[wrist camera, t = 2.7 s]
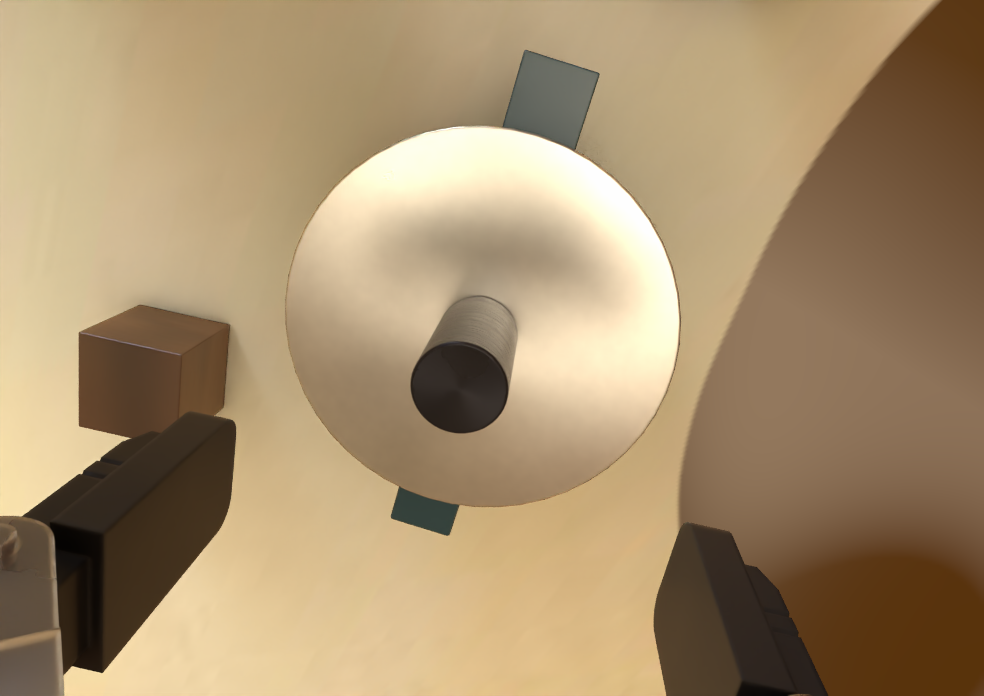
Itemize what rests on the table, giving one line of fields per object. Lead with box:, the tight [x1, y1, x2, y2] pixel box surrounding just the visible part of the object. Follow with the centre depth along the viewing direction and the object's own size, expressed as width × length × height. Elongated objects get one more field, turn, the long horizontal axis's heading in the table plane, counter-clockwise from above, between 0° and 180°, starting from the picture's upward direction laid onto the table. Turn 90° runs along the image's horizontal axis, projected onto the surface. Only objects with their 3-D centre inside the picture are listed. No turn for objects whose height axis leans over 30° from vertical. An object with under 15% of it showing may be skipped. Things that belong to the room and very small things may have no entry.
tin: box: [391, 50, 599, 536], centre depth 27 cm, size 12×17×8 cm
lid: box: [285, 125, 681, 507], centre depth 21 cm, size 13×13×6 cm
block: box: [79, 305, 229, 438], centre depth 31 cm, size 4×4×4 cm
